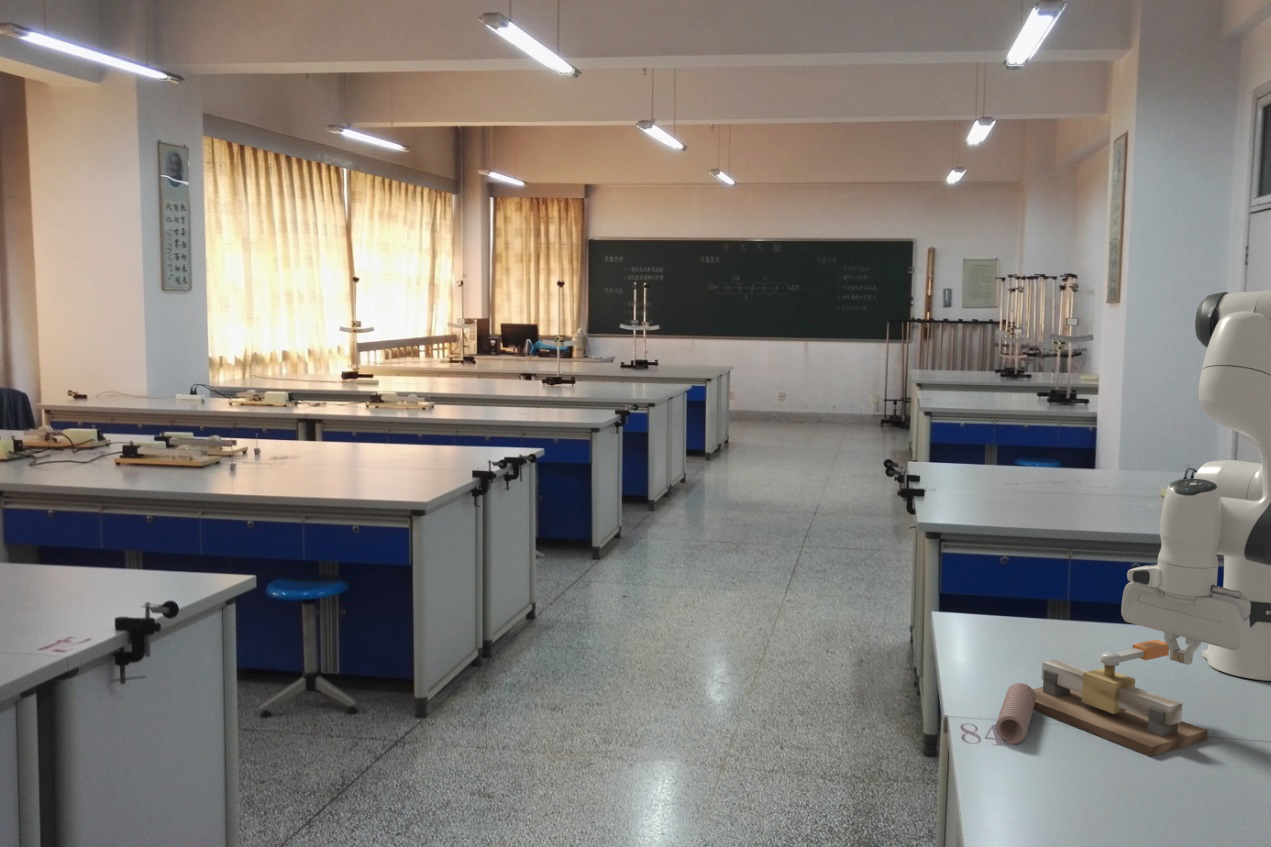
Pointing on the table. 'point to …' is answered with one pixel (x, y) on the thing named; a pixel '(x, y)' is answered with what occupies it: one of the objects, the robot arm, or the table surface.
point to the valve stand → (1114, 708)
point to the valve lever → (1136, 653)
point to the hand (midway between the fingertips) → (1180, 661)
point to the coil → (1016, 713)
